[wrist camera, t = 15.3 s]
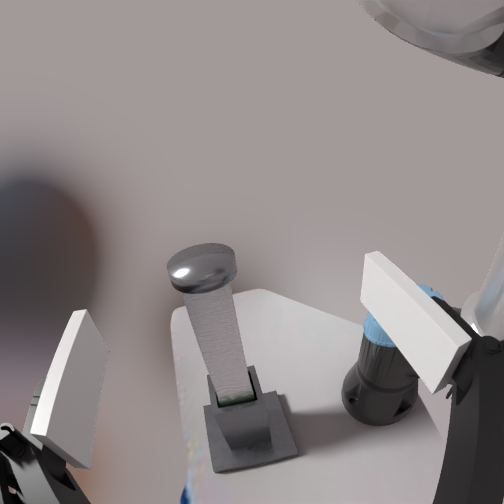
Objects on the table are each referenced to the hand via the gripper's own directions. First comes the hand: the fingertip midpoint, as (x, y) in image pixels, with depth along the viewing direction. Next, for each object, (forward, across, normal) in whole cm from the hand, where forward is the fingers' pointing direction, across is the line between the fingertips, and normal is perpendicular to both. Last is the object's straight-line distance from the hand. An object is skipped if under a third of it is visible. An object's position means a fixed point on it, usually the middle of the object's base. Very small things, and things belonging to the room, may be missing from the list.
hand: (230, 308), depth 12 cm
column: (+14, -2, -32) cm, 35 cm away
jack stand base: (+14, -2, -40) cm, 42 cm away
